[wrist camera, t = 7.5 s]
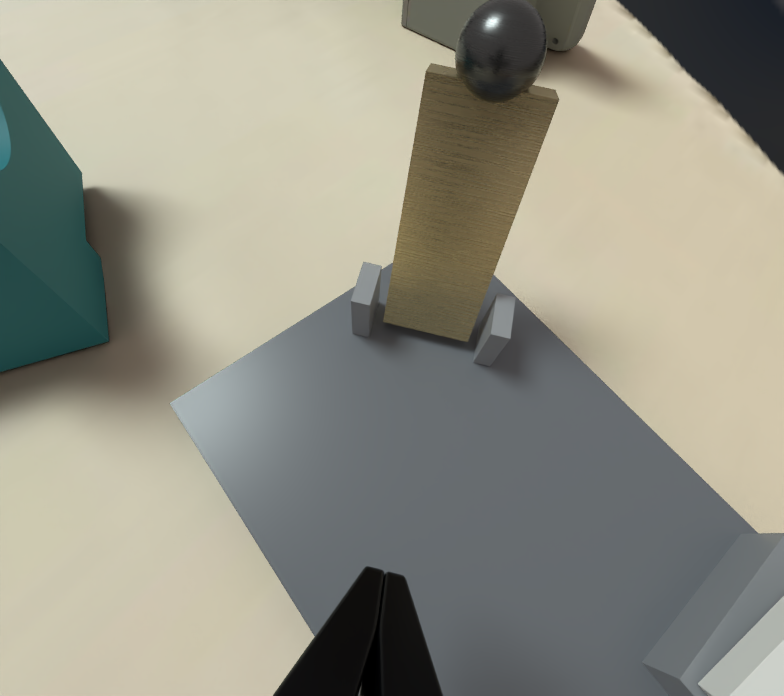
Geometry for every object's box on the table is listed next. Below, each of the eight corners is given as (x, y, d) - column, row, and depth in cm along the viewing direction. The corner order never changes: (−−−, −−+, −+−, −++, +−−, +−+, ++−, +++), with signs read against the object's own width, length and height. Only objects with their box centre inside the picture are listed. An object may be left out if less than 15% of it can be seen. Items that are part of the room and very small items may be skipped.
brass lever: (466, 352, 19) (595, 17, 10) (379, 331, 19) (438, -16, 11) (470, 316, 21) (581, 7, 12) (390, 297, 21) (447, -21, 12)
